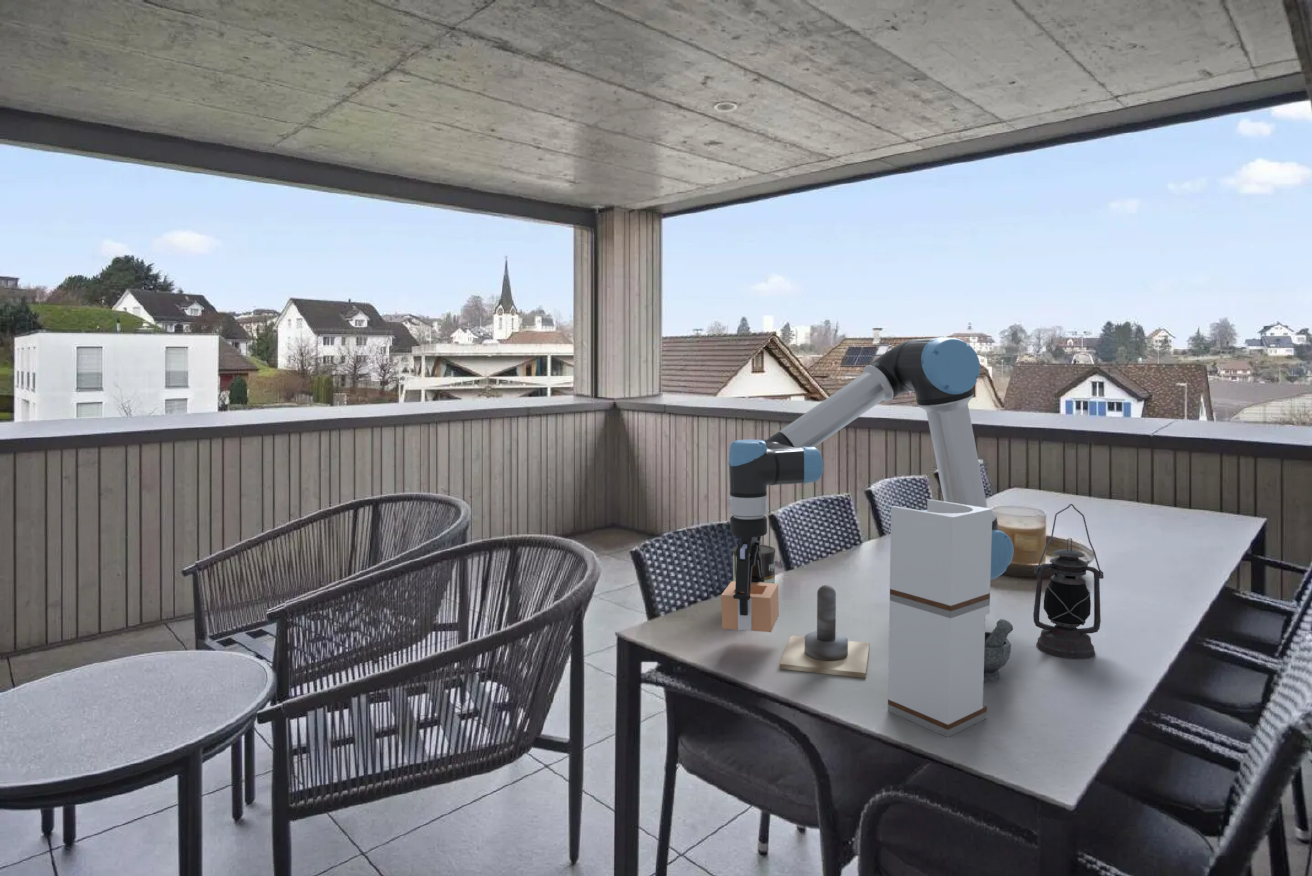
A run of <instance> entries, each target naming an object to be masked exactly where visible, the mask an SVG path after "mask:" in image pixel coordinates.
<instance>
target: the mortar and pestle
mask: <svg viewBox="0 0 1312 876" xmlns="http://www.w3.org/2000/svg"><path fill="white" fill-rule="evenodd" d="M1013 630H1014V626H1013V624H1012V623H1011V622H1010V621H1009V620H1006V619H1003V618H1000V619H999V620H997V622H996V626H995V627H994V628H993V630H992V631H990V632H988V631H985V646H984V681H983V683H987V682H996V681H997V680H999V679H1000V674H999V673H1000V672H999V670H1000V669H1001V668H1002V667H1004V666H1005V665H1006V664H1007V662H1008V661H1009V659H1010V655H1011V650H1012V644H1011V643H1012V642H1010V640H1009V639H1008V635H1009V634H1010V633H1012V631H1013Z"/></svg>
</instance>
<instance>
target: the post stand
mask: <svg viewBox="0 0 1312 876" xmlns="http://www.w3.org/2000/svg"><path fill="white" fill-rule="evenodd" d="M816 593H817V594H816V595H817V597H816V599H817V600H816V631H811V632H808V633H806V634H805V635H804V636H800V635H799V636H798V635H791V636H790V638H789V640H788V643H787V645H786V647H785V650H784V653H783V655H782V658H781V660H780V662H779V670H787V671H788V670H789V671H797V672H807V673H814V674H824V675H834V676H844V677H851V678H854V677H855V678H860V679H866V676H867V671H868V670H867V669H868V661H869V653H870V642H862V641H851V640H849V639H848V637H847V636H845V635H844V634H841V633H839V632H836V630H837V629H836V627H837V626H836V625H837V624H836V621H837V619H836V617H837V616H836V613H837V609H836V608H837V593H836V590H835V589H834V587H832V586H831V585H829V584H824V585H821V586H820V587H818V589H817V592H816Z"/></svg>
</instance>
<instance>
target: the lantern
mask: <svg viewBox="0 0 1312 876" xmlns="http://www.w3.org/2000/svg"><path fill="white" fill-rule="evenodd" d="M1071 506H1072V508H1073V509H1074V511H1076V512H1077V513H1078V514H1079V515H1081V516H1082V520H1083V524H1084V526H1085V527H1084V528H1085V532H1086V535H1087V539H1088V543H1089V546H1090V547H1091V550H1092V552H1093V556H1094V559H1095V563H1096V567H1097V568H1096V567H1094V566H1089V563H1088V562H1086V561H1085V560H1083V559H1080V558H1084V557H1085V556H1086V554H1085V553H1083V552H1081V551H1079V550H1075V549H1073V538H1071V537H1070V538H1067V540H1066V543H1067V544H1066V548H1061V549H1057V550H1054V551H1053V554H1054V555H1056V556H1058V557H1054V558H1051V559H1050V560H1049V563H1042V561H1043V558H1044V555H1045V553H1046V550H1047V548H1048V546H1049V545H1050V543H1051V541H1052V539H1053V536H1054V532H1055V527H1056V520H1057V515H1059V514H1061V513H1062V512H1064V511H1066V510H1067V509H1069V508H1070V507H1071ZM1053 518H1054V519H1053V525H1052V530H1051V534H1050V538H1049V540H1048V541H1047V542H1046V545H1045V547H1044V549H1043V552H1042V554H1041V557H1040V559H1039V562H1038V564H1037V565H1034V568H1033V569H1034V571H1033V573H1034V574H1036V575H1037V577H1036V588H1035V598H1034V605H1033V616H1032V617H1033V622H1034V625H1035V627H1036V628H1039V629H1042V630H1041V631H1040V636H1038V638H1037V642H1036V643H1035V646H1036V648H1037V650H1038V649H1039V651H1041V652H1042V653H1045V654H1048V655H1050V656H1054V657H1058V658H1064V659H1071V660H1086V659H1090V658H1093V657H1094V656H1095V655H1096V651H1095V645H1093V643H1092V637H1091V636H1090V634H1094V633H1098V631H1099V630H1100V628H1101V594H1100V593H1101V591H1100V589H1101V588H1100V587H1101V585H1100V581H1101V580H1102V579H1104V578H1105V577H1104V572H1103V571H1102V569H1101V568H1100V564H1099V561H1098V558H1097V554H1096V551H1095V549H1094V547H1093V544H1092V542H1091V538H1090V535H1089V531H1088V526H1087V522H1086V517H1085V515H1084V514H1083V513H1082V512H1081V511H1080V510H1078V508H1076V507H1075V505H1074V504H1073V503H1069V505H1068V506H1067V507H1065V508H1064V509H1062V510H1059V511H1058V512H1056V513H1054V517H1053ZM1069 540H1070V548H1069ZM1046 569H1050V571H1051V572H1052V573H1054V574H1053V575H1051V577H1050V581H1049V583H1047V584H1046V588H1045V591H1044V598H1043V610H1044V612H1045V613H1046V616H1047V619H1048V620H1049V621H1050V623H1052V624H1054V626H1053V625H1050V624H1046V623H1043V622H1041V621H1040V611H1041V600H1042V591H1043V590H1042V588H1043V578H1044V577H1043V575H1044V570H1046ZM1087 571H1088V572H1091V573H1092V574H1093V613H1094V614H1093V625H1092V626H1090V627H1083V628H1079V627H1080V626H1084V625H1085V624H1086V620H1087V619H1088V618H1089V617H1090V615H1091V607H1092V603H1091V590H1089V589H1088V587H1087V585H1086V582H1087V581H1086V579H1084V578H1083V576H1084V575H1087ZM1100 579H1101V580H1100Z"/></svg>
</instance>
